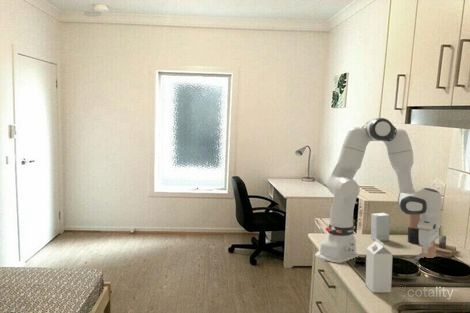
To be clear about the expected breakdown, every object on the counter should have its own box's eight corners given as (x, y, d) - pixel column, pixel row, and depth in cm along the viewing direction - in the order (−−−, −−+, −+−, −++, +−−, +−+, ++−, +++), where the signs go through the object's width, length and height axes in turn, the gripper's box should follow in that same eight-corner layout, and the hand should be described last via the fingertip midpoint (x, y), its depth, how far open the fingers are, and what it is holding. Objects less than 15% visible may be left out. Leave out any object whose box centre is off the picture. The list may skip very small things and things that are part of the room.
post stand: (450, 256, 177) (451, 240, 177) (428, 252, 184) (428, 236, 183) (456, 250, 186) (456, 235, 185) (434, 246, 193) (435, 231, 192)
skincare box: (383, 237, 208) (384, 212, 207) (389, 241, 202) (390, 214, 201) (370, 238, 206) (370, 213, 205) (376, 241, 201) (376, 215, 200)
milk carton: (382, 285, 144) (384, 238, 143) (391, 292, 137) (393, 243, 136) (365, 285, 144) (366, 238, 142) (372, 293, 137) (374, 243, 135)
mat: (437, 264, 166) (437, 263, 166) (413, 259, 173) (413, 258, 173) (443, 258, 174) (443, 257, 174) (420, 253, 181) (420, 253, 181)
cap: (432, 260, 170) (433, 248, 170) (421, 258, 174) (421, 246, 173) (435, 258, 174) (436, 245, 173) (424, 255, 177) (424, 243, 177)
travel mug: (425, 244, 196) (427, 208, 195) (411, 244, 196) (412, 208, 195) (418, 240, 204) (420, 205, 202) (404, 240, 204) (406, 205, 203)
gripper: (429, 217, 182) (427, 244, 183) (416, 225, 167) (415, 254, 168) (443, 219, 178) (441, 247, 179) (431, 227, 163) (430, 257, 164)
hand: (428, 250), depth 173 cm, fingers open, 8 cm apart
